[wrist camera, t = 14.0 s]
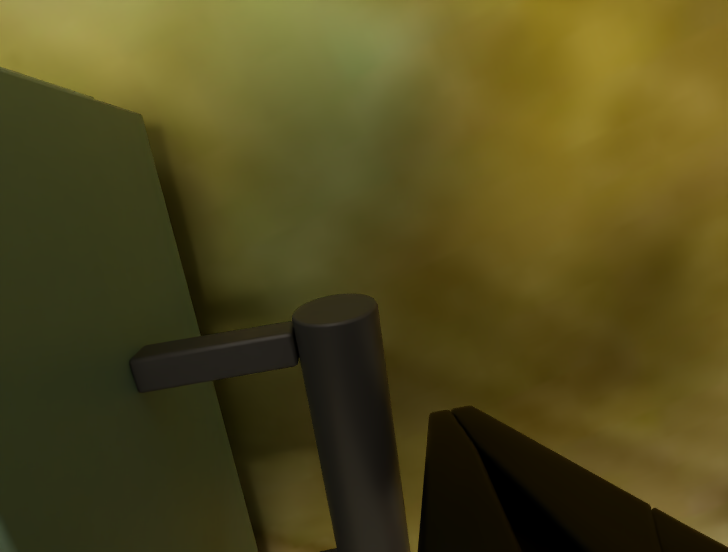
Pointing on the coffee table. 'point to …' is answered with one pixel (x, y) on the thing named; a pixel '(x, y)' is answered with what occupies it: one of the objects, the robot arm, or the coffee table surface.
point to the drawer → (151, 359)
